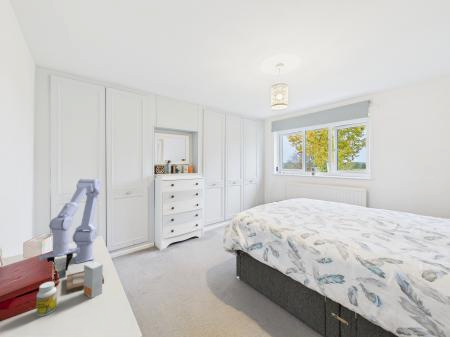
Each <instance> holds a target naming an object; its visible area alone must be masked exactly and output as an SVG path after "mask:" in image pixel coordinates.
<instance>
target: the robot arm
mask: <svg viewBox="0 0 450 337" xmlns="http://www.w3.org/2000/svg"><path fill="white" fill-rule="evenodd" d="M101 189H102V183H101V180H100V179H98V178H94V179H93V178H92V179H90V178H80V179H79V180H78V181H77V183H76V190H75V191H74V193H73V196H72V198H71V199H70V201H69V202H67V203H65V204H64V205H63V207H62V209H61V210H60V212H58V215H57V216H56V217H54V218H52V219H51V220H50V222H49V224H48V227H49V228H50V231H51V234H52V251H50V252H47V253H44V254H39V257H38V258H39V260H38V261H39V262H40V261H41V262H42V261H43V260H46V262H47V261H48V262H49V261H53V262H54V264H55V258H61V257H63V256H64V257H65V256H66V272H67V271H68V268H69V265H70V263H71V260H72V259H73V257H74V254H76V255H75V257H74V259H75V264H80V263H85V262H88V261H89V262H90V261H92V260H94V259H95V258H94V253H93V246H94V245H93V243H94V242H95V241H96V239H97V229H98V228H97V227H95V226H94V225H93V224H94V219H95V214H96V208H97V202H98V198H99V197H98V196H99V195H100V193H101ZM85 195H86V200H85V205H84V210H83V215H82V219H81V223H80V225H78V226H77V227H76V228H75V230H74V233H73V235H72V241H73V242H74V244H75V245H76V247H75V248H74V247H73V248H69V233H70V231H69V229H70V228H71V227H72V225H73V220H74V218H73V217H74V216H75V214H76V213H77V211H78V210H79V206H78V205H79V204H80V202H81V201H82V199H83V198H84V197H85Z"/></svg>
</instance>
